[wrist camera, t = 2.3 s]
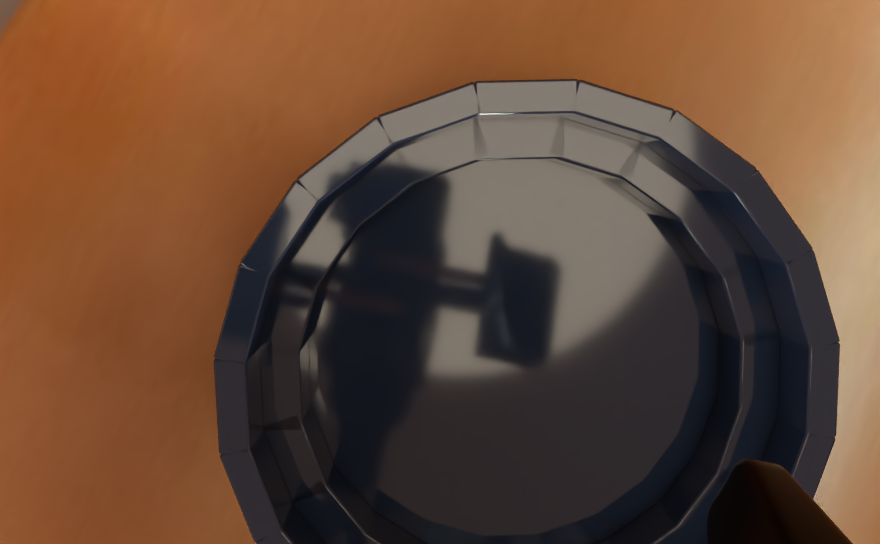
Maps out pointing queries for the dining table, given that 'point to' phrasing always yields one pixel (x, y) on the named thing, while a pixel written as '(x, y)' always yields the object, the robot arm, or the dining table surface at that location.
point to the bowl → (521, 329)
